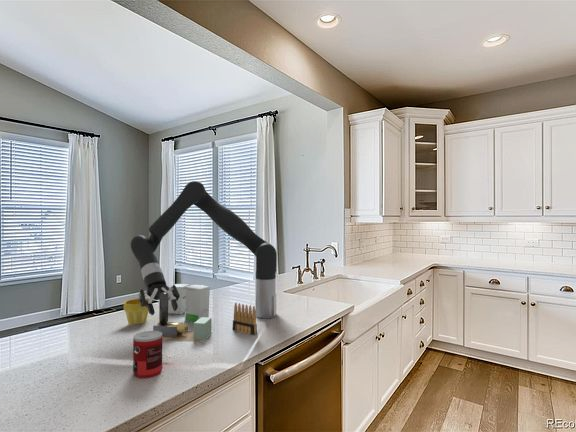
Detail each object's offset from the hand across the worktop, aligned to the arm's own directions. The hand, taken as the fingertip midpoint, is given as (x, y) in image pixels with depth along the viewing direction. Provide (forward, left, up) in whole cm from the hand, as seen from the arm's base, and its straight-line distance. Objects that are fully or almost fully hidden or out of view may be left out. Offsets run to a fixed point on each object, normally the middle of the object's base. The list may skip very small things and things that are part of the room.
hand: (164, 311), depth 126 cm
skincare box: (-5, -20, -10) cm, 22 cm away
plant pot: (+19, -14, -10) cm, 26 cm away
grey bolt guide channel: (-1, 0, -9) cm, 9 cm away
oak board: (-7, -1, -10) cm, 12 cm away
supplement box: (+10, -34, -10) cm, 37 cm away
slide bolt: (-3, -1, -9) cm, 9 cm away
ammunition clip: (-29, -8, -10) cm, 31 cm away
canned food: (-9, +26, -10) cm, 30 cm away
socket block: (-15, -1, -9) cm, 17 cm away
